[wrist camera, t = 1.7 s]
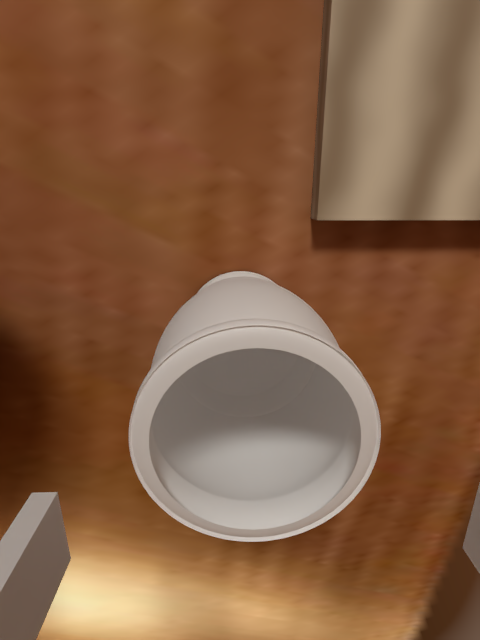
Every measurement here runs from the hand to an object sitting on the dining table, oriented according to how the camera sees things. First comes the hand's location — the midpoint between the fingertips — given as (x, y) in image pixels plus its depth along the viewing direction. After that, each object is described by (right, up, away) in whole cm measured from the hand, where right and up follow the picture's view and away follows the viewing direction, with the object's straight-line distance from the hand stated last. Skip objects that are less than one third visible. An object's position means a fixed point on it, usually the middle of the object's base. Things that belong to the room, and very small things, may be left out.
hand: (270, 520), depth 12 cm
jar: (-1, +6, +18) cm, 19 cm away
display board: (+11, +22, +12) cm, 28 cm away
